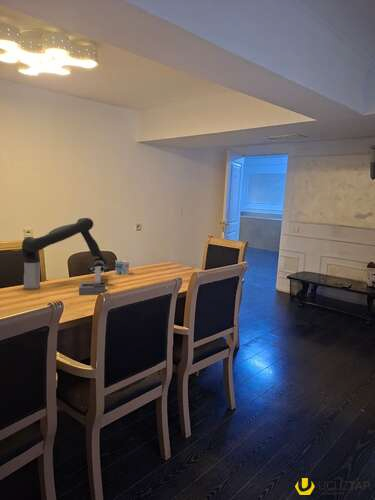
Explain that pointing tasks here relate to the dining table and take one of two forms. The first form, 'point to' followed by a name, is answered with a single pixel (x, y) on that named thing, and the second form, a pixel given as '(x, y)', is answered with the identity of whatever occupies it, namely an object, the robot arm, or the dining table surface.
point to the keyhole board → (92, 288)
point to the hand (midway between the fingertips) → (98, 271)
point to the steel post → (97, 274)
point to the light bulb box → (122, 267)
